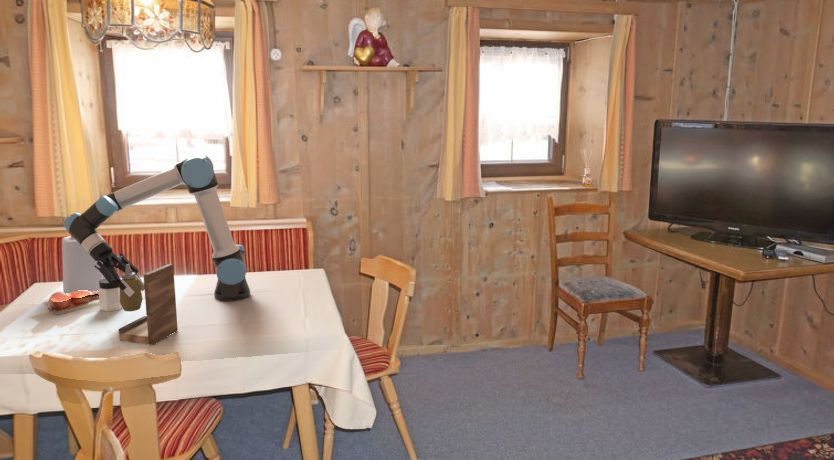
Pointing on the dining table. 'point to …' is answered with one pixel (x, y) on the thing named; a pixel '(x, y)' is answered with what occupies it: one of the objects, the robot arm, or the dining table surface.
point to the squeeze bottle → (136, 299)
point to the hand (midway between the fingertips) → (138, 291)
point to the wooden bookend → (155, 309)
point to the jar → (109, 296)
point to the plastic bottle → (78, 267)
